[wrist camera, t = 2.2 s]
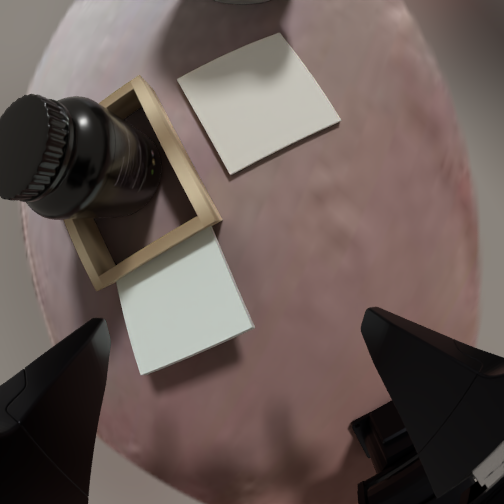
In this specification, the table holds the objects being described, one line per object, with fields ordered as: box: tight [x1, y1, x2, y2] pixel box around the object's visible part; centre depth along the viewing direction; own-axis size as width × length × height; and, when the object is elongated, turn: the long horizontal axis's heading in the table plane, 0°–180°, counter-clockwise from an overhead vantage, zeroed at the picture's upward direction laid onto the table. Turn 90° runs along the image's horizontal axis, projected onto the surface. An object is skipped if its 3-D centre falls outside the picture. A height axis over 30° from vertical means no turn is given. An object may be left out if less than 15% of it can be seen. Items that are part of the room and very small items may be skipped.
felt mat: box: [177, 33, 341, 175], centre depth 19 cm, size 9×9×1 cm
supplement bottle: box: [0, 94, 162, 220], centre depth 14 cm, size 7×7×12 cm
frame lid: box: [116, 226, 255, 375], centre depth 19 cm, size 7×8×4 cm
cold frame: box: [64, 75, 222, 291], centre depth 19 cm, size 12×10×3 cm
